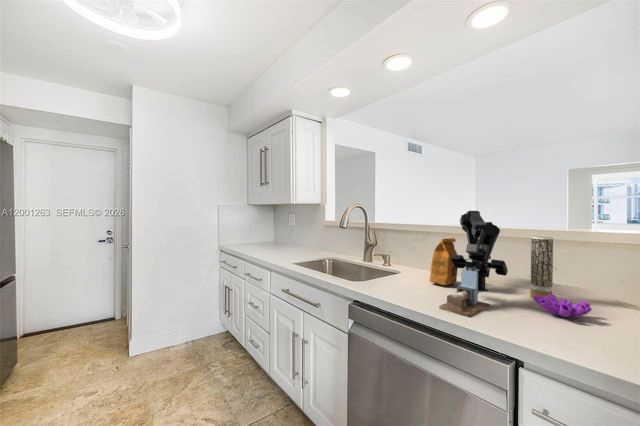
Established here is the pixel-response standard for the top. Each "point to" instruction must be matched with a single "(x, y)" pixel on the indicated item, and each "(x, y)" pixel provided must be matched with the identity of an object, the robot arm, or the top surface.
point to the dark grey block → (470, 293)
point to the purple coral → (562, 306)
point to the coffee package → (444, 263)
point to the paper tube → (541, 266)
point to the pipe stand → (462, 304)
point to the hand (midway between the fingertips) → (470, 281)
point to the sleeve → (470, 282)
